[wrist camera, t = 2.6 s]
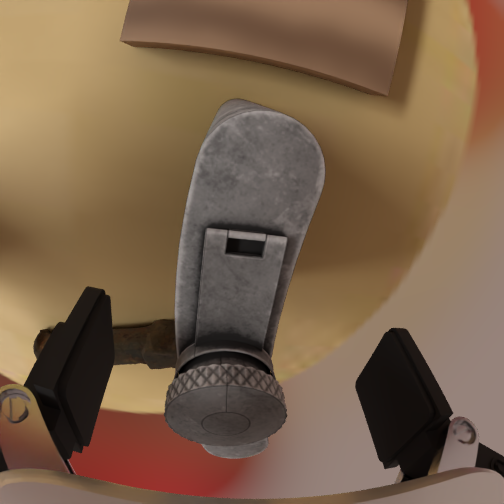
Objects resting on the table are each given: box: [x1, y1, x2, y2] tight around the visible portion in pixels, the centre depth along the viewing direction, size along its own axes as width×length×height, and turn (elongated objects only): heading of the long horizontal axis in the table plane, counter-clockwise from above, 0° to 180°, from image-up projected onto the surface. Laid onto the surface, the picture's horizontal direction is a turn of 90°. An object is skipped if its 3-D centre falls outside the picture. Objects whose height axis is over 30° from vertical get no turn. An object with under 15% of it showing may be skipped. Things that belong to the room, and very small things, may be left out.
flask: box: [164, 99, 326, 458], centre depth 15 cm, size 4×14×18 cm, turn 175°
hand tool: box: [33, 320, 177, 369], centre depth 27 cm, size 19×4×5 cm, turn 96°
